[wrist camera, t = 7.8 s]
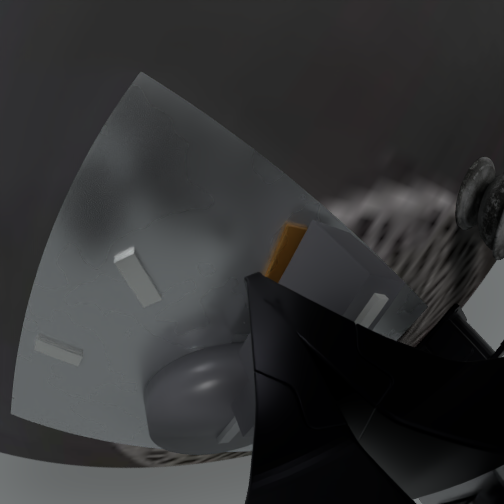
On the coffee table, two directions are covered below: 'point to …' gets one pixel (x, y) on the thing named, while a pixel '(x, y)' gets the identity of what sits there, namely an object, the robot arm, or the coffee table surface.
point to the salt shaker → (483, 204)
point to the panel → (156, 264)
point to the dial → (240, 353)
